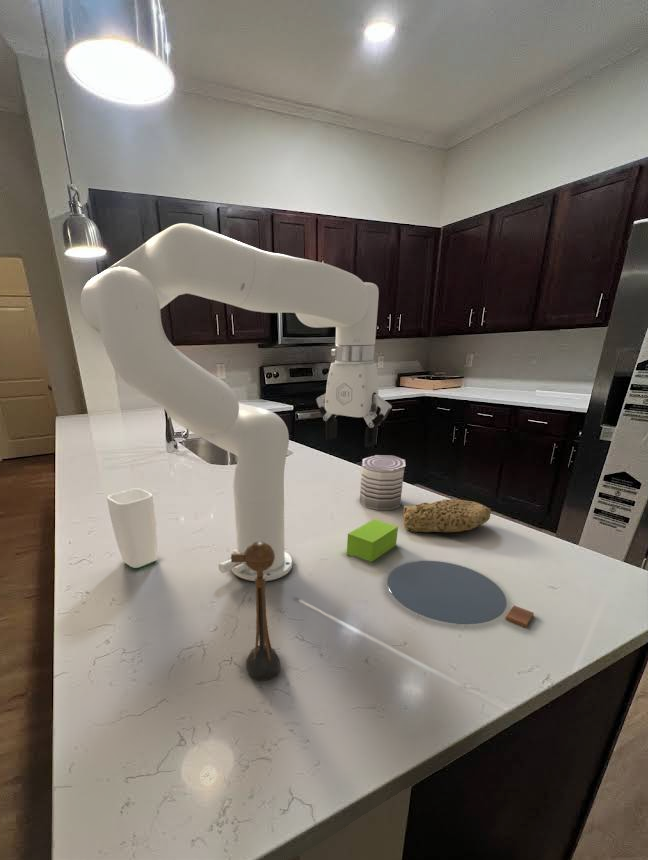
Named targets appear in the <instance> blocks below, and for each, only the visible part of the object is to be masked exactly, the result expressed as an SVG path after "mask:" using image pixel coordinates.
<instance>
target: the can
mask: <svg viewBox="0 0 648 860" xmlns="http://www.w3.org/2000/svg"><path fill="white" fill-rule="evenodd" d="M405 467H406V459H404V458H401V457H399V456H396V455H391V454H389V455H388V454H387V455H385V454H383V455H382V454H374V455H371V456H368V457H365V458H362V461H361V473H360V474H361V477H360V492H359V504H361V505H362V506H363V507H365V508H367V509H370V510H371V509H372V510H375V511H393V510H395V509H398V508H400V507H401V501H402V493H403V485H404V474H405Z"/></svg>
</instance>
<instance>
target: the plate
mask: <svg viewBox="0 0 648 860" xmlns="http://www.w3.org/2000/svg"><path fill="white" fill-rule="evenodd" d="M386 583H387V588H388V590H389V592H390V594H391V595H392V596H393V598H394V599H395V600H396V601H397V602H398V603H400V605H402V606H404V607H405V608H406V609H408V610H410V611H412V612H414V613H416V614H418V615H420V616H423V617H425V618H428V619H431V620H435V621H439V622H443V623H449V624H457V625H474V624H475V625H477V624H483V623H486V622H490V621H492V620H495V619H497V618H498V617H500V616H501V615H502V614H503V613H504V612H505V610H506V607H507V598H506V595H505V594H504V592H503V590H502V588H500V586H498V585H497V583H495V582H494V581H493V580H492V579H490V578H489V577H487V576H485V575H484V574H482V573H480V572H478V571H476V570H474V569H472V568H468V567H466V566H462V565H460V564H455V563H450V562H447V561H446V562H445V561H439V560H418V561H412V562H407V563H404V564H401V565H399V566H397V567H396V568H394V569H393V570H392V571H391V572H390V573H389V574H388V576H387V580H386Z"/></svg>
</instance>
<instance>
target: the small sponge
mask: <svg viewBox="0 0 648 860" xmlns="http://www.w3.org/2000/svg"><path fill="white" fill-rule="evenodd" d="M398 531H399V526H397V525H394V524H391V523H387V522H384V521H381V520H378V519H376V518H375V519H374V518H373V519H372V520H369V521H368V522H366V523H364V524H362V525H361V526H359V527H357V528H356V529H353V530H352V531H349V533H347V542H346V543H347V544H346V555H347V556H349V557H354V556H355V557H357V558H359V559H362V560H364V561H367V562H370V563H372V562H374V561H376V560H377V559H378V558H380V557H381V556H383V555H384V554H385V553H387V552H388V551H390V550H391V549H393V548H394V547H395V546H397V540H398Z"/></svg>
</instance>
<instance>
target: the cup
mask: <svg viewBox="0 0 648 860" xmlns="http://www.w3.org/2000/svg"><path fill="white" fill-rule="evenodd" d="M106 501H107V508H108V511H109V516H110V520H111V525H112V529H113V530H112V531H113V532H114V537H115V538H114V539H115V540H116V544H117V547H118V550H119V553H120V556H121V560H122V561H123V563H125V564H127V565H128V566H129V567H131V568H133V569H140V568H143V567H146V566H147V565H150V564H152V563H154V562H155V561H156V560H157V559H158V529H157V518H156V509H155V501H154V495H153V494H152V493H151V492H149V491H147V490H145V489H142V488H139V487H138V488H137V487H135V488H129V489H126V490H122V491H119V492H115V493H111V494H109V495H107V497H106Z"/></svg>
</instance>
